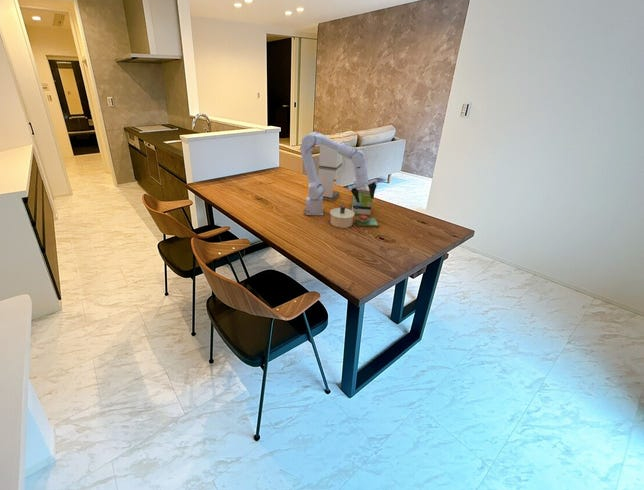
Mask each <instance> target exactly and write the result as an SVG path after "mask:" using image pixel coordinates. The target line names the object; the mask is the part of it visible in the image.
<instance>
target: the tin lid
mask: <svg viewBox="0 0 644 490" xmlns="http://www.w3.org/2000/svg"><path fill="white" fill-rule="evenodd" d="M329 214H330V216H331V215H332V216H333V217H336V218H340V219H348V218H352V217H353V218H354V217H355V215H356V214H355V213H354V212H353V211H352V209H349V208H347V207H346V206H345V205H340V207H335V208H332V209H330V211H329Z"/></svg>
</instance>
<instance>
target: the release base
mask: <svg viewBox="0 0 644 490" xmlns="http://www.w3.org/2000/svg"><path fill="white" fill-rule="evenodd" d="M360 216H361V215H358V216H356V217H355V222H356V225H357V228H379V223H378V221H377V219H376V217H369V216H367V219H366V220H361V219H360Z"/></svg>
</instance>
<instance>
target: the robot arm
mask: <svg viewBox="0 0 644 490" xmlns="http://www.w3.org/2000/svg"><path fill="white" fill-rule="evenodd" d="M321 144H323V145H326V146H328V147H331V148H333V149H335V150H337V151H338V154H340V155H342V157H344V158H347V159H349V160H350V161H351V162H352V163H353V170H354V176H355V181H356V184H354V183H353V184H352V185H348V186H347V189H348V191H350V192H351V194H352V196H353V195H354V197H355V199H356V201H357V202H358V203H359V202H360V201H359V195H358V190H357V188H361V187H364V186H368V187H369V191H370V197H371V198H372V199H374V198H375V192H376V189H377V187H378V186H377V184H378V179H377V178H374V179H373V178H372V179H369V176H368V171H367V164H366V152H365V151H364V150H363V149H361V148H357V147H353V146H351V145H350V143H348V142H346V143H345V142H344V143H343V144H339V143H338V141H335V140H334V139H331V138H330V137H328V136H326V135H324V134H323V133H321V132H318V131H311V132H310V133H308V134H305V135H304V136H303V138H302V139H301V145H300V156H301V159H302V162H303V166H304V169H305V173H306V176H307V181H308V187H307V189H308V197H305V207H304V210H305V215H306V216H324V211H323V205H324V203H323V201H324V199H323V196H322V194H323V193H324V191H325V189H324V186H323V185H322V184H321V181H320V180H319V179H318V172H317V169H316V165H315V161H314V158H313V154H312V151H313V150H314V148H315V146H320V145H321ZM374 200H375V199H374Z"/></svg>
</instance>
